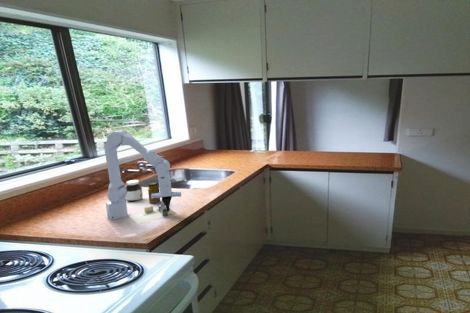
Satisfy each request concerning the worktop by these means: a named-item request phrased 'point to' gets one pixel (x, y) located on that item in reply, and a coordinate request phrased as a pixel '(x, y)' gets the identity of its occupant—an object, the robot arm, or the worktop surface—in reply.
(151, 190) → the condiment
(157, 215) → the door board
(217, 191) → the worktop surface
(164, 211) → the latch bar
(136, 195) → the spread jar
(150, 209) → the block
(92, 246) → the worktop surface
